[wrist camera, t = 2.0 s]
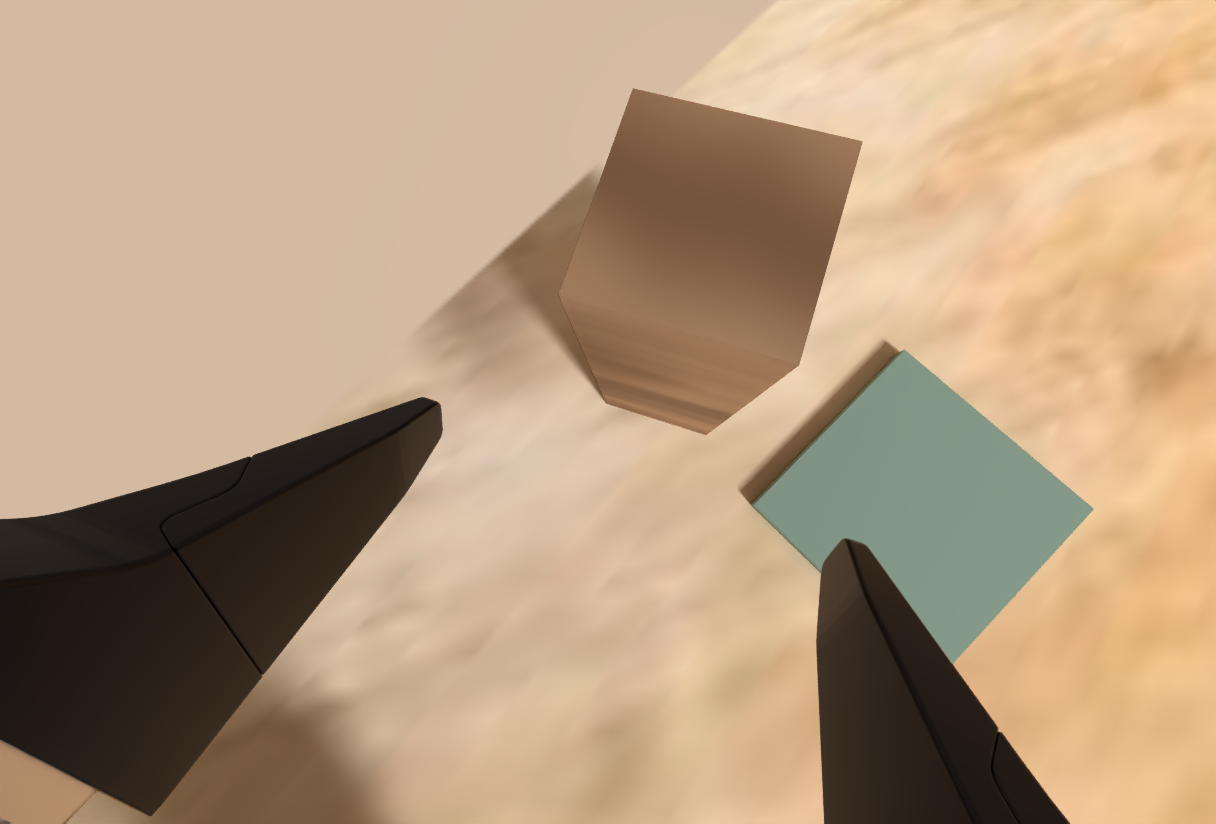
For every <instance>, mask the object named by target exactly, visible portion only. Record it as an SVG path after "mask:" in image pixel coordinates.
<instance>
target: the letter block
mask: <svg viewBox="0 0 1216 824" xmlns="http://www.w3.org/2000/svg"><path fill="white" fill-rule="evenodd" d="M862 142H863V141H858V140H854V139H850V138H845V137H841V136H837V135H832V134H828V133H824V132H819V131H815V130H811V129H806V128H802V127H798V126H793V125H789V124H785V123H780V122H776V121H772V120H767V119H763V118H759V117H754V116H750V115H746V114H741V113H737V112H733V111H728V110H724V109H720V108H715V107H711V106H707V105H702V104H698V103H694V102H689V101H685V100H681V99H676V98H672V97H668V96H663V95H658V94H655V93H650V92H646V91H642V90H637V89H633V90H632V93H631V95H630V98H629V101H628V104H627V106H626V109H625V112H624V115H623V118H622V120H621V123H620V126H619V129H618V132H617V134H616V137H615V140H614V143H613V145H612V148H611V151H610V153H609V156H608V159H607V162H606V164H605V167H604V170H603V173H602V176H601V178H600V181H599V184H598V187H597V189H596V192H595V195H594V198H593V200H592V203H591V206H590V209H589V212H588V214H587V217H586V220H585V223H584V225H583V228H582V231H581V234H580V236H579V239H578V242H577V245H576V247H575V250H574V253H573V256H572V259H571V261H570V264H569V267H568V270H567V272H566V275H565V278H564V281H563V283H562V286H561V289H560V292H559V295H558V296H559V298H560V300H561V302H562V305H563V307H564V309H565V311H566V314H567V316H568V318H569V320H570V323H571V325H572V327H573V330H574V332H575V334H576V336H577V339H578V341H579V343H580V345H581V348H582V350H583V352H584V354H585V357H586V359H587V361H588V363H589V366H590V368H591V370H592V373H593V375H594V377H595V379H596V382H597V384H598V386H599V388H600V391H601V393H602V395H603V397H604V400H605V402H606V404H610V405H613V406H616V407H619V408H622V409H625V410H629V411H632V412H635V413H638V414H641V415H644V416H648V417H651V418H654V419H657V420H660V421H663V422H666V423H670V424H673V425H676V426H679V427H682V428H685V429H689V430H692V431H695V432H698V433H701V434H704V435H707V434H708V433H709V432H711V431H712V430H713V429H715V428H716V427H717V426H719V425H720V424H721V423H723V422H724V421H725V420H727V419H728V418H729V417H731V416H732V415H733V414H735V413H736V412H737V411H739V410H740V409H741V408H743V407H744V406H745V405H747V404H748V403H749V402H751V401H752V400H753V399H755V398H756V397H757V396H759V395H760V394H761V393H763V392H764V391H765V390H767V389H768V388H769V387H771V386H772V385H773V384H775V383H776V382H777V381H779V380H780V379H781V378H783V377H784V376H785V375H787V374H788V373H789V372H791V371H792V370H793V369H795V368H796V367H797V366H799V364H800V360H801V357H802V353H803V350H804V346H805V342H806V339H807V335H808V332H809V328H810V325H811V321H812V318H813V314H814V311H815V307H816V304H817V300H818V297H819V293H820V290H821V286H822V283H823V279H824V276H825V272H826V269H827V265H828V262H829V258H830V255H831V251H832V247H833V244H834V240H835V237H836V233H837V230H838V226H839V223H840V219H841V216H842V212H843V209H844V205H845V202H846V198H847V195H848V191H849V188H850V184H851V181H852V177H853V174H854V170H855V167H856V163H857V160H858V156H859V152H860V149H861V145H862Z"/></svg>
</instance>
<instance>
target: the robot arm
mask: <svg viewBox="0 0 1216 824" xmlns="http://www.w3.org/2000/svg"><path fill="white" fill-rule="evenodd" d="M442 431H443V426H442V412H441V405H440V403H438V402H437V401H434V400H431V399H428V398H425V397H421V398H417V399H414V400H411V401H408V402H406V403H403V404H400V405H397V406H394V407H391V408H388V409H385V410H382V411H380V412H377V413H374V414H371V415H368V416H365V417H362V418H359V419H356V420H353V421H351V422H348V423H345V424H342V425H339V426H336V427H333V428H330V429H327V430H325V431H322V432H319V433H316V434H313V435H310V436H307V437H304V438H301V439H298V440H296V441H293V442H290V443H287V444H284V445H281V446H278V447H275V448H272V449H270V450H267V451H264V452H261V453H258V454H255V455H253V456H252V457H246V458H243V459H240V460H237V461H234V462H232V463H229V464H226V465H223V466H219V467H216V468H213V469H211V470H207V471H204V472H201V473H199V474H195V475H192V476H188V477H185V478H181V479H178V480H175V481H171V482H168V483H165V484H161V485H158V486H154V487H151V488H147V489H143V490H140V491H136V492H133V493H130V494H126V495H123V496H119V497H115V498H111V499H108V500H104V501H101V502H97V503H94V504H90V505H87V506H83V507H80V508H76V509H72V510H68V511H64V512H60V513H55V514H50V515H45V516H38V517H30V518H17V519H0V824H65V823H66V822H67V821H68V820H69V819H70V818H71V817H72V816H73V815H74V814H75V813H76V812H77V811H78V810H79V809H80V808H81V807H82V806H83V805H84V803H85V802H86V801H87V800H88V799H89V798H90V797H91V796H92V795H93V794H94V793H95V792H96V791H98V792H100V793H102V794H105V795H107V796H109V797H111V798H113V799H115V800H117V801H119V802H121V803H123V804H125V805H127V806H129V807H131V808H133V809H135V810H137V811H139V812H141V813H144V814H146V815H148V816H152V815H153V814H154V813H155V811H156V810H157V809H158V808H159V807H160V806H161V805H162V803H163V802H164V801H165V800H166V799H167V797H168V796H169V795H170V793H171V792H172V791H173V790H174V788H175V787H176V786H177V785H178V783H179V782H180V781H181V779H182V778H183V777H184V776H185V774H186V773H187V772H188V771H189V769H190V768H191V767H192V765H193V764H194V763H195V762H196V760H197V759H198V758H199V757H200V755H201V754H202V753H203V752H204V750H205V749H206V748H207V746H208V745H209V744H210V743H211V741H212V740H213V739H214V738H215V736H216V735H217V734H218V732H219V731H220V730H221V729H222V727H223V726H224V725H225V724H226V722H227V721H228V720H229V718H230V717H231V716H232V715H233V713H234V712H235V711H236V710H237V708H238V707H239V706H240V705H241V703H242V702H243V701H244V699H245V698H246V697H247V696H248V694H249V693H250V692H251V691H252V689H253V688H254V687H255V685H256V684H257V683H258V682H259V680H260V679H261V678H262V675H263V674H264V673H265V672H266V671H267V670H268V668H269V667H270V666H271V665H272V663H273V662H274V661H275V660H276V658H277V657H278V656H279V654H280V653H281V652H282V651H283V649H284V648H285V647H286V646H287V644H288V643H289V642H290V640H291V639H292V638H293V637H294V635H295V634H296V633H297V632H298V630H299V629H300V628H301V627H302V625H303V624H304V623H305V621H306V620H307V619H308V618H309V616H310V615H311V614H312V613H313V611H314V610H315V609H316V607H317V606H318V605H319V604H320V602H321V601H322V600H323V599H324V597H325V596H326V595H327V593H328V592H329V591H330V590H331V588H332V587H333V586H334V585H335V583H336V582H337V581H338V579H339V578H340V577H341V576H342V574H343V573H344V572H345V571H346V569H347V568H348V567H349V566H350V564H351V563H352V562H353V560H354V559H355V558H356V557H357V555H358V554H359V553H360V552H361V550H362V549H363V548H364V546H365V545H366V544H367V543H368V541H369V540H370V539H371V538H372V536H373V535H374V534H375V532H376V531H377V530H378V529H379V527H380V526H381V525H382V524H383V522H384V521H385V520H386V518H387V517H388V516H389V515H390V513H391V512H392V511H393V510H394V508H395V507H396V506H397V504H398V503H399V502H400V501H401V499H402V498H403V497H404V495H405V494H406V493H407V491H408V490H409V488H410V487H411V485H412V484H413V482H414V480H415V479H416V477H417V475H418V474H419V472H420V471H421V469H422V467H423V466H424V464H425V463H426V461H427V459H428V458H429V456H430V454H431V453H432V451H433V450H434V448H435V446H436V445H437V443H438V442H439V440H440V438H441V435H442ZM816 645H817V672H818V695H819V717H820V740H821V762H822V784H823V807H824V824H1070V823H1069V821H1068V820H1067V819H1066V818H1065V816H1064V815H1063V814H1062V812H1061V811H1060V810H1059V809H1058V807H1057V806H1056V805H1055V804H1054V802H1053V801H1052V800H1051V798H1050V797H1049V796H1048V794H1047V793H1046V792H1045V790H1044V789H1043V788H1042V786H1041V785H1040V784H1039V782H1038V781H1037V780H1036V778H1035V777H1034V776H1033V774H1032V773H1031V772H1030V770H1029V769H1028V768H1027V766H1026V765H1025V764H1024V762H1023V761H1022V760H1021V758H1020V757H1019V755H1018V754H1017V753H1016V751H1015V750H1014V748H1013V747H1012V746H1011V744H1010V743H1009V742H1008V740H1007V739H1006V737H1005V736H1004V735H1003V733H1001V732H998V727H997V725H996V724H995V722H994V721H993V720H992V718H991V717H990V715H989V714H988V713H987V711H986V710H985V708H984V707H983V706H982V704H981V703H980V702H979V700H978V699H977V697H976V696H975V695H974V693H973V692H972V690H971V689H970V688H969V686H968V685H967V683H966V682H965V681H964V679H963V678H962V677H961V675H960V674H959V672H958V671H957V670H956V668H955V667H954V665H953V664H952V663H951V661H950V660H949V658H948V657H947V656H946V654H945V653H944V652H943V650H942V649H941V647H940V646H939V645H938V643H937V642H936V640H935V639H934V638H933V636H932V635H931V633H930V632H929V631H928V629H927V628H926V627H925V625H924V624H923V622H922V621H921V620H920V618H919V617H918V615H917V614H916V613H915V611H914V610H913V608H912V607H911V606H910V604H909V603H908V602H907V600H906V599H905V597H904V596H903V595H902V593H901V592H900V590H899V589H898V588H897V586H896V585H895V583H894V582H893V581H892V579H891V578H890V577H889V575H888V574H887V572H886V571H885V570H884V568H883V567H882V565H881V564H880V563H879V561H878V560H877V558H876V557H875V556H874V554H873V553H872V552H871V550H870V549H869V548H868V546H867V545H865V544H864V543H861V542H858V541H855V540H852V539H849V538H844V539H842V540H841V541H840V542H839V543H838V544H837V545H836V547H835V548H834V549H833V550H832V552H831V553H830V554H829V555H828V557H827V558H826V559H825V561H824V563H823V565H822V570H821V582H820V595H819V608H818V621H817V639H816Z"/></svg>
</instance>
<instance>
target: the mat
mask: <svg viewBox="0 0 1216 824" xmlns="http://www.w3.org/2000/svg"><path fill="white" fill-rule="evenodd" d="M751 506H752V507H753V508H754V509H755V510H756V511H757V512H758V513H760V514H761V515H762V516H763V517H764V518H765V519H766V520H767V521H768V522H769V523H770V524H771V525H772V526H773V527H774V528H775V529H776V530H777V531H778V532H779V533H780V534H781V535H782V536H783V537H784V538H785V539H786V540H787V541H788V542H789V543H790V544H791V545H792V546H793V547H794V548H796V549H797V550H798V551H799V552H800V553H801V554H802V555H803V556H804V557H805V558H806V559H807V560H808V561H809V562H810V563H811V564H812V565H813V566H814V567H815V568H816V569H817V570H818V571H819V572H820V573H821V570H822V565H823V563H824V561H825V559H826V558H827V557H828V555H829V554H830V553H831V552H832V550H833V549H834V548H835V547H836V545H837V544H838V543H839V542H840V541H841V540H842V539H844V538H849V539H852V540H855V541H858V542H861V543H864V544H865V545H867V546H868V548H869V549H870V550H871V552H872V553H873V554H874V556H875V557H876V558H877V560H878V561H879V563H880V564H881V565H882V567H883V568H884V570H885V571H886V572H887V574H888V575H889V577H890V578H891V579H892V581H893V582H894V583H895V585H896V586H897V588H898V589H899V590H900V592H901V593H902V595H903V596H904V597H905V599H906V600H907V602H908V603H909V604H910V606H911V607H912V608H913V610H914V611H915V613H916V614H917V615H918V617H919V618H920V620H921V621H922V622H923V624H924V625H925V627H926V628H927V629H928V631H929V632H930V633H931V635H932V636H933V638H934V639H935V640H936V642H937V643H938V645H939V646H940V647H941V649H942V650H943V652H944V653H945V654H946V656H947V657H948V658H949V660H950V661H951V663H952V664H953V663H954V662H955V661H956V660H957V659H958V657H959V656H960V655H961V654H962V653H963V652H964V651H965V650H966V649H967V648H968V647H969V645H970V644H971V643H972V642H973V641H974V640H975V639H976V638H977V637H978V636H979V634H980V633H981V632H982V631H983V630H984V629H985V628H986V627H987V626H988V625H989V623H990V622H991V621H992V620H993V619H994V618H995V617H996V616H997V615H998V614H999V613H1000V611H1001V610H1002V609H1003V608H1004V607H1005V606H1006V605H1007V604H1008V603H1009V602H1010V600H1011V599H1012V598H1013V597H1014V596H1015V595H1016V594H1017V593H1018V592H1019V591H1020V590H1021V588H1022V587H1023V586H1024V585H1025V584H1026V583H1027V582H1028V581H1029V580H1030V579H1031V577H1032V576H1033V575H1034V574H1035V573H1036V572H1037V571H1038V570H1039V569H1040V568H1041V566H1042V565H1043V564H1044V563H1045V562H1046V561H1047V560H1048V559H1049V558H1050V557H1051V556H1052V554H1053V553H1054V552H1055V551H1056V550H1057V549H1058V548H1059V547H1060V546H1061V545H1062V543H1063V542H1064V541H1065V540H1066V539H1067V538H1068V537H1069V536H1070V535H1071V534H1072V533H1073V531H1074V530H1075V529H1076V528H1077V527H1078V526H1079V525H1080V524H1081V523H1082V522H1083V520H1084V519H1085V518H1086V517H1087V516H1088V515H1089V514H1090V513H1091V512H1092V511H1093V508H1092V507H1091V506H1090V505H1089V504H1087V503H1086V502H1085V501H1084V500H1083V499H1081V498H1080V497H1079V496H1078V495H1077V494H1075V493H1074V492H1073V491H1072V490H1071V489H1070V488H1068V487H1067V486H1066V485H1065V484H1064V483H1062V482H1061V481H1060V480H1059V479H1058V478H1056V477H1055V476H1054V475H1053V474H1052V473H1050V472H1049V471H1048V470H1047V469H1046V468H1045V467H1043V466H1042V465H1041V464H1040V463H1039V462H1037V461H1036V460H1035V459H1034V458H1033V457H1031V456H1030V455H1029V454H1028V453H1027V452H1026V451H1024V450H1023V449H1022V448H1021V447H1020V446H1018V445H1017V444H1016V443H1015V442H1014V441H1012V440H1011V439H1010V438H1009V437H1008V436H1006V435H1005V434H1004V433H1003V432H1002V431H1001V430H999V429H998V428H997V427H996V426H995V425H993V424H992V423H991V422H990V421H989V420H987V419H986V418H985V417H984V416H983V415H982V414H980V413H979V412H978V411H977V410H976V409H974V408H973V407H972V406H971V405H970V404H968V403H967V402H966V401H965V400H964V399H962V398H961V397H960V396H959V395H958V394H957V393H955V392H954V391H953V390H952V389H951V388H949V387H948V386H947V385H946V384H945V383H943V382H942V381H941V380H940V379H939V378H938V377H936V376H935V375H934V374H933V373H932V372H930V371H929V370H928V369H927V368H926V367H924V366H923V365H922V364H921V363H920V362H918V361H917V360H916V359H915V358H914V357H913V356H911V355H910V354H909V353H908V352H907V351H905V350H903V351H901V352H899V353H897V354H896V355H895V357H894V358H893V359H892V360H891V361H890V362H889V363H888V364H887V365H886V366H885V367H884V368H883V369H882V370H881V371H880V372H879V373H878V374H877V375H876V376H875V377H874V378H873V379H872V380H871V381H870V382H869V383H868V384H867V385H866V386H865V387H864V388H863V389H862V390H861V392H860V393H859V394H858V395H857V396H856V397H855V398H854V399H853V400H852V401H851V402H850V403H849V404H848V405H847V406H846V407H845V408H844V409H843V410H842V411H841V412H840V413H839V414H838V415H837V416H836V417H835V418H834V419H833V420H832V421H831V422H830V423H829V424H828V425H827V426H826V428H825V429H824V430H823V431H822V432H821V433H820V434H819V435H818V436H817V437H816V438H815V439H814V440H813V441H812V442H811V443H810V444H809V445H808V446H807V447H806V448H805V449H804V450H803V451H802V452H801V453H800V454H799V455H798V456H797V457H796V458H795V459H794V460H793V461H792V462H791V464H790V465H789V466H788V467H787V468H786V469H785V470H784V471H783V472H782V473H781V474H780V475H779V476H778V477H777V478H776V479H775V480H774V481H773V482H772V483H771V484H770V485H769V486H768V487H767V488H766V489H765V490H764V491H763V492H762V493H761V494H760V495H759V496H758V497H757V498H756V500H755V501H754V502H753V503H752V504H751Z"/></svg>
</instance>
